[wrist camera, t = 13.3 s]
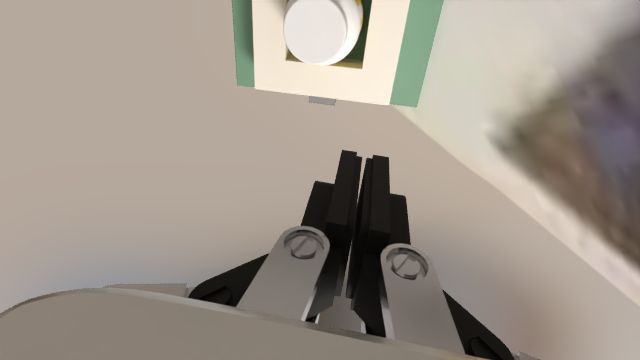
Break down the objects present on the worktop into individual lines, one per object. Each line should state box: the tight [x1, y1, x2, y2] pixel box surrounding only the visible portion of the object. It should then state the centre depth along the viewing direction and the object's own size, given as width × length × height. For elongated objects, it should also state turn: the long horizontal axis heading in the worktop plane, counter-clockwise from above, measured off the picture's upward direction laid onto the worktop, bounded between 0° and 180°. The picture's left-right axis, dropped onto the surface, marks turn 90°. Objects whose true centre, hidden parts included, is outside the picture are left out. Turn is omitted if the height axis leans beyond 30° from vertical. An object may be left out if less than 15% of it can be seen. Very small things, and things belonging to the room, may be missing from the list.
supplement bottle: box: [283, 0, 364, 66], centre depth 24 cm, size 5×5×10 cm
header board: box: [232, 0, 444, 107], centre depth 27 cm, size 18×14×4 cm
